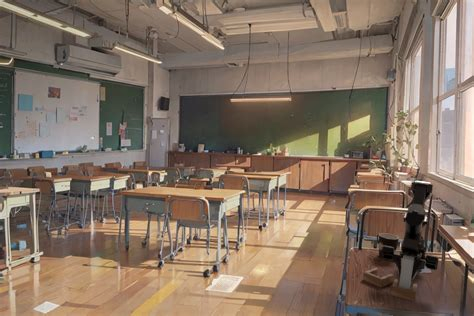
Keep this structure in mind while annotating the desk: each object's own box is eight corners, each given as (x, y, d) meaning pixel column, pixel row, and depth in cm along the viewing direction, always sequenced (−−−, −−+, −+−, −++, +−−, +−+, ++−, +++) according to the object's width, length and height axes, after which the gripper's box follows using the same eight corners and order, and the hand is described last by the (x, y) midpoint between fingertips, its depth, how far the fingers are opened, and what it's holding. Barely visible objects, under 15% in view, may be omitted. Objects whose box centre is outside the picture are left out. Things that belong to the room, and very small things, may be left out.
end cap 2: (393, 288, 144) (394, 278, 143) (416, 294, 140) (417, 284, 140) (390, 297, 137) (392, 286, 136) (414, 303, 133) (415, 292, 133)
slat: (399, 289, 142) (403, 254, 140) (409, 292, 140) (414, 257, 139) (398, 293, 138) (402, 258, 136) (408, 296, 136) (413, 260, 135)
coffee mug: (398, 262, 173) (401, 240, 172) (378, 259, 174) (380, 237, 173) (392, 253, 184) (394, 232, 183) (373, 250, 185) (375, 230, 184)
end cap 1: (374, 277, 153) (375, 267, 153) (392, 284, 148) (393, 274, 147) (362, 281, 148) (363, 272, 148) (381, 289, 142) (382, 279, 142)
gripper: (385, 224, 144) (377, 261, 136) (441, 234, 136) (436, 275, 127) (385, 239, 152) (378, 275, 144) (439, 250, 143) (434, 289, 135)
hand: (405, 278), depth 137 cm, fingers closed on slat, 3 cm apart
